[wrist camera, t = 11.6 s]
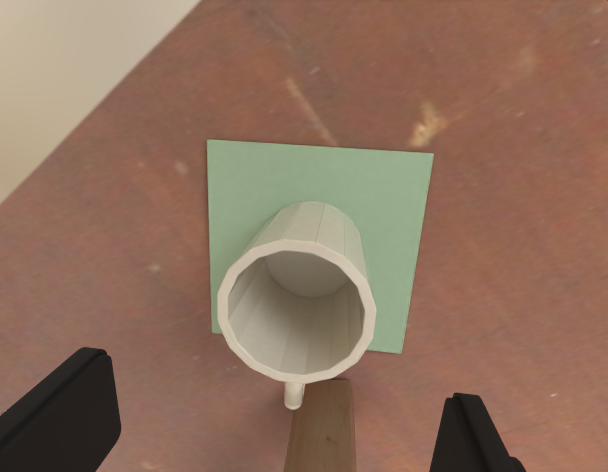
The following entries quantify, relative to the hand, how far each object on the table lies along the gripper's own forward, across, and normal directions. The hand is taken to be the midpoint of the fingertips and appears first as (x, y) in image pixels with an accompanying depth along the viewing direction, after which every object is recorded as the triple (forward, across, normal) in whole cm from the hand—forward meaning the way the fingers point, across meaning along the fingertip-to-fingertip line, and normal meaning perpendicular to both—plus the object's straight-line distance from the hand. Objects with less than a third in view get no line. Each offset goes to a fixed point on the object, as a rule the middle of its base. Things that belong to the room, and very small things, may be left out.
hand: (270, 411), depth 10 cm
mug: (+14, 0, +2) cm, 14 cm away
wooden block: (+15, -2, +13) cm, 19 cm away
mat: (+15, 0, +1) cm, 15 cm away
